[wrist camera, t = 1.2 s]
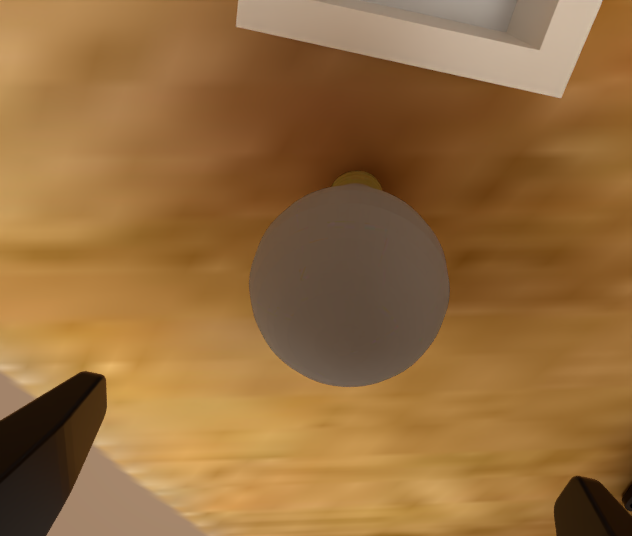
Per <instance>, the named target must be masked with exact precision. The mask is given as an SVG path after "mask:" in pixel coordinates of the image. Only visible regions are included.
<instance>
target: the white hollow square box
mask: <svg viewBox="0 0 632 536" xmlns="http://www.w3.org/2000/svg"><path fill="white" fill-rule="evenodd" d="M602 1H603V0H238V9H237V19H236V27H239V28H244V29H248V30H253V31H257V32H262V33H267V34H271V35H276V36H280V37H285V38H289V39H294V40H298V41H303V42H307V43H312V44H317V45H321V46H326V47H330V48H335V49H339V50H344V51H348V52H353V53H357V54H362V55H367V56H371V57H376V58H380V59H385V60H389V61H394V62H398V63H403V64H407V65H412V66H417V67H421V68H426V69H430V70H435V71H439V72H444V73H448V74H453V75H457V76H462V77H467V78H471V79H476V80H480V81H485V82H489V83H494V84H498V85H503V86H507V87H512V88H517V89H521V90H526V91H530V92H535V93H539V94H544V95H548V96H553V97H557V98H561V97H562V95H563V93H564V90H565V88H566V86H567V83H568V81H569V78H570V76H571V74H572V71H573V69H574V67H575V64H576V62H577V60H578V57H579V55H580V53H581V50H582V48H583V46H584V43H585V41H586V39H587V36H588V34H589V31H590V29H591V27H592V24H593V22H594V20H595V17H596V15H597V13H598V10H599V8H600V6H601V3H602Z"/></svg>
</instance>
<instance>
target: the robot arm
mask: <svg viewBox="0 0 632 536" xmlns="http://www.w3.org/2000/svg"><path fill="white" fill-rule="evenodd" d="M106 408H107V395H106V379H105V377H104V376H103V375H102V374H97V373H92V372H87V371H83V372H80V373H78V374H76V375H75V376H73V377H71V378H70V379H68V380H67V381H65V382H63V383H62V384H60V385H58V386H57V387H55V388H53V389H52V390H50V391H48V392H47V393H45V394H43V395H42V396H40V397H38V398H37V399H35V400H33V401H32V402H30V403H29V404H27V405H25V406H24V407H22V408H20V409H19V410H17V411H15V412H14V413H12V414H10V415H9V416H7V417H6V418H4V419H2V420H0V536H46V535H47V533H48V532H49V530H50V528H51V526H52V524H53V523H54V521H55V520H56V518H57V516H58V514H59V513H60V511H61V509H62V507H63V505H64V504H65V502H66V500H67V498H68V496H69V495H70V493H71V491H72V489H73V486H74V484H75V482H76V480H77V478H78V475H79V473H80V471H81V469H82V466H83V464H84V462H85V460H86V457H87V455H88V453H89V451H90V448H91V446H92V444H93V442H94V439H95V437H96V435H97V433H98V430H99V428H100V426H101V423H102V421H103V419H104V416H105V413H106ZM622 501H623V504H624V506H625V508H626V509H627V510H629V511H632V486H631V488H630V489H629V490H628V491H627V493H626V494H625V495H624V496H623V498H622ZM625 508H624V507H623V506H622V505H621V504H620V503H619V502H618V501H617V500H616V499H615V498H614V497H613V496H612V494H611V493H610V492H609V491H608V490H607V489H606V488H605V487H604V486H603V485H602V484H601V483H600V482H599V481H597V480H595V479H591V478H587V477H582V476H575V477H573V478H572V479H571V480H570V481H569V483H568V484H567V485H566V487H565V488H564V490H563V491H562V493H561V494H560V496H559V497H558V498H557V500H556V502H555V506H554V519H555V527H556V535H557V536H632V516H631V515H630V514H629V513H628V512H627V511H626V510H625Z"/></svg>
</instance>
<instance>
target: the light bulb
mask: <svg viewBox="0 0 632 536" xmlns="http://www.w3.org/2000/svg"><path fill="white" fill-rule="evenodd" d="M249 290H250V297H251V303H252V308H253V313H254V317H255V320H256V323H257V325H258V327H259V329H260V331H261V333H262V335H263V337H264V339H265V341H266V342H267V344H268V345H269V347H270V348H271V349H272V351H273V352H274V353H275V354H276V355H277V356H278V357H279V358H280V359H281V360H282V361H283V362H284V363H285V364H287V365H288V366H290V367H291V368H292V369H294V370H296V371H297V372H299V373H300V374H302V375H304V376H306V377H308V378H310V379H312V380H315V381H317V382H321V383H324V384H328V385H333V386H341V387H358V386H366V385H371V384H374V383H378V382H381V381H383V380H386V379H389V378H391V377H393V376H396V375H398V374H400V373H401V372H403V371H405V370H406V369H407V368H409V367H410V366H412V365H413V364H414V363H415V362H416V361H417V360H418V359H419V358H420V357H421V356H422V355H423V354H424V352H425V351H426V350H427V349H428V347H429V346H430V345H431V343H432V342H433V341H434V339H435V337H436V336H437V334H438V331H439V329H440V327H441V324H442V322H443V319H444V317H445V314H446V310H447V307H448V302H449V293H450V288H449V278H448V272H447V266H446V260H445V256H444V253H443V250H442V247H441V245H440V243H439V241H438V239H437V237H436V235H435V234H434V232H433V231H432V230H431V228H430V227H429V226H428V224H427V223H426V222H425V221H424V220H423V219H422V217H421V216H420V215H419V214H418V213H417V212H416V211H415V210H414V209H413V208H412V207H410V206H409V205H408V204H406V203H405V202H404V201H402V200H400V199H399V198H397V197H395V196H393V195H391V194H389V193H387V192H384V191H382V188H381V185H380V183H379V181H378V180H377V179H376V178H375V177H374V176H373V175H371V174H369V173H367V172H363V171H350V172H347V173H344V174H343V175H341V176H339V177H338V178H337V179H336V180H335V181H334V183H333V184H332V186H331V187H329V188H324V189H321V190H318V191H315V192H313V193H310V194H308V195H306V196H304V197H302V198H301V199H299V200H298V201H296V202H295V203H293V204H292V205H291V206H290V207H288V208H287V209H286V210H285V211H284V212H283V213H281V214H280V215H279V216H278V217H277V218H276V219H275V220H274V221H273V222H272V223H271V225H270V226H269V227H268V229H267V230H266V232H265V233H264V235H263V237H262V239H261V241H260V243H259V246H258V249H257V252H256V255H255V257H254V260H253V263H252V267H251V272H250V280H249Z"/></svg>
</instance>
